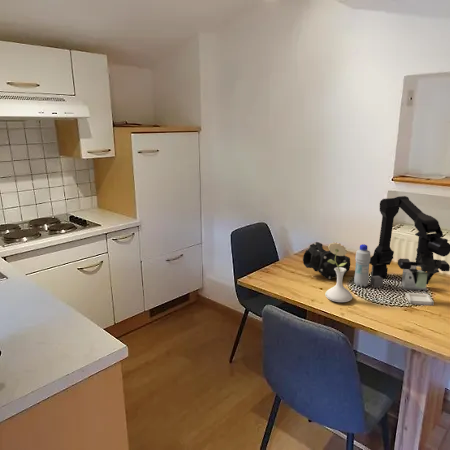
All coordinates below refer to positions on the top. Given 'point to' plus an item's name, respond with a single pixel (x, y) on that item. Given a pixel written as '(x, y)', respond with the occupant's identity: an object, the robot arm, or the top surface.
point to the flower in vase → (338, 276)
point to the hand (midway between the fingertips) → (420, 283)
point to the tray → (419, 299)
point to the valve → (324, 261)
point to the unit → (409, 281)
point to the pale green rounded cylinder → (421, 279)
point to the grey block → (376, 281)
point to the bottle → (362, 266)
